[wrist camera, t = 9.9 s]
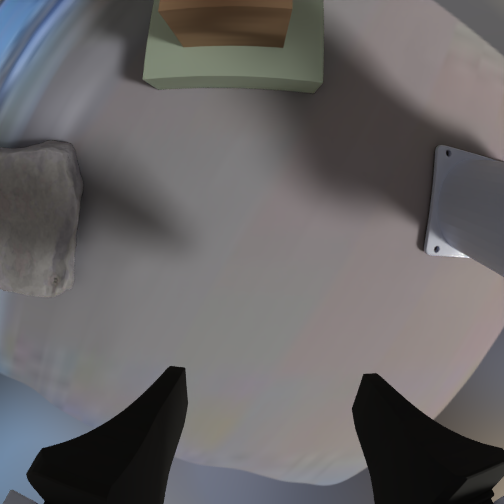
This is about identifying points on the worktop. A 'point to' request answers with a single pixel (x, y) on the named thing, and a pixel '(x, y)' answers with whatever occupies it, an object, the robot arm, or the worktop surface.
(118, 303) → the worktop surface
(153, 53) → the base block
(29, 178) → the stone block
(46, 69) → the worktop surface
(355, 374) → the worktop surface
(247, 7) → the walnut block
